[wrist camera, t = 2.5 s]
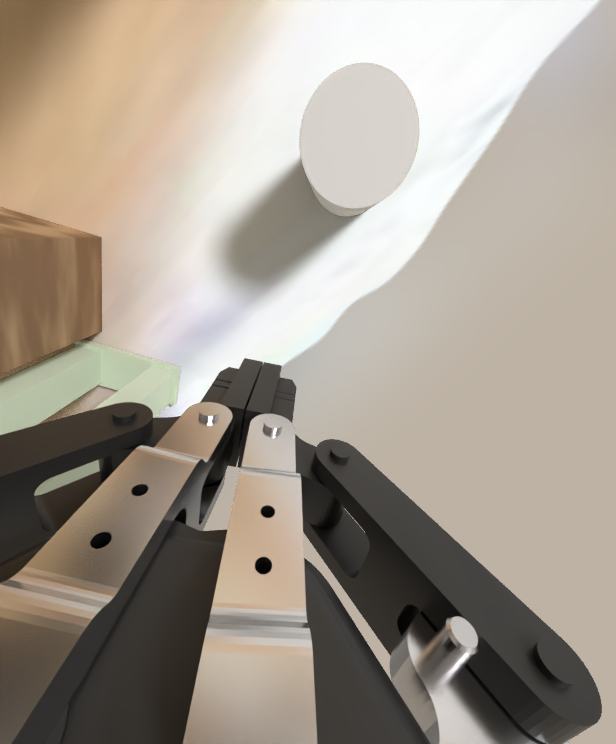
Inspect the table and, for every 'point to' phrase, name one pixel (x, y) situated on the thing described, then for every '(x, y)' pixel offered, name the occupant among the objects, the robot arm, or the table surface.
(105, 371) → the cradle
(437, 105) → the table surface
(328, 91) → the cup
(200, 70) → the table surface
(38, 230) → the walnut stand
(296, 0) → the table surface
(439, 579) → the robot arm
